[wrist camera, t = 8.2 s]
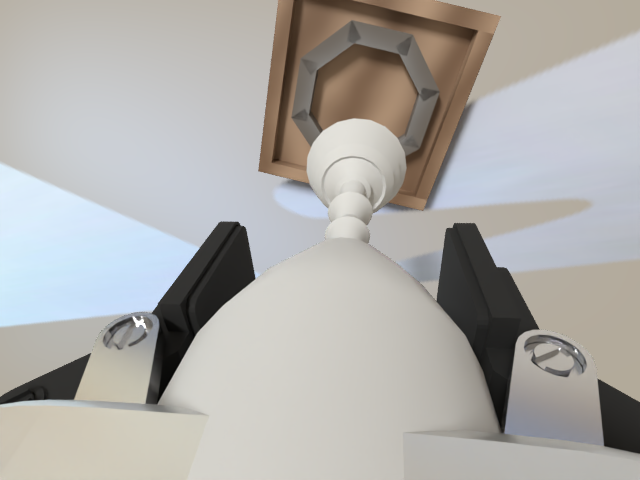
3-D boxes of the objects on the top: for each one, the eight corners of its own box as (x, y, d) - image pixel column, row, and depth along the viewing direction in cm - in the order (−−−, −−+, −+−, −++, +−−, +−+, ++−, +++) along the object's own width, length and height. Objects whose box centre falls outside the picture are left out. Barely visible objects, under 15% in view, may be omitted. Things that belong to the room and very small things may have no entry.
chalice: (368, 251, 21) (353, 868, 6) (265, 189, 20) (-98, 762, 5) (458, 146, 17) (1059, 1076, 2) (338, 63, 16) (-266, 813, 1)
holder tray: (492, 16, 30) (502, 16, 27) (420, 201, 39) (423, 212, 36) (288, -33, 30) (281, -37, 27) (263, 163, 39) (257, 172, 36)
